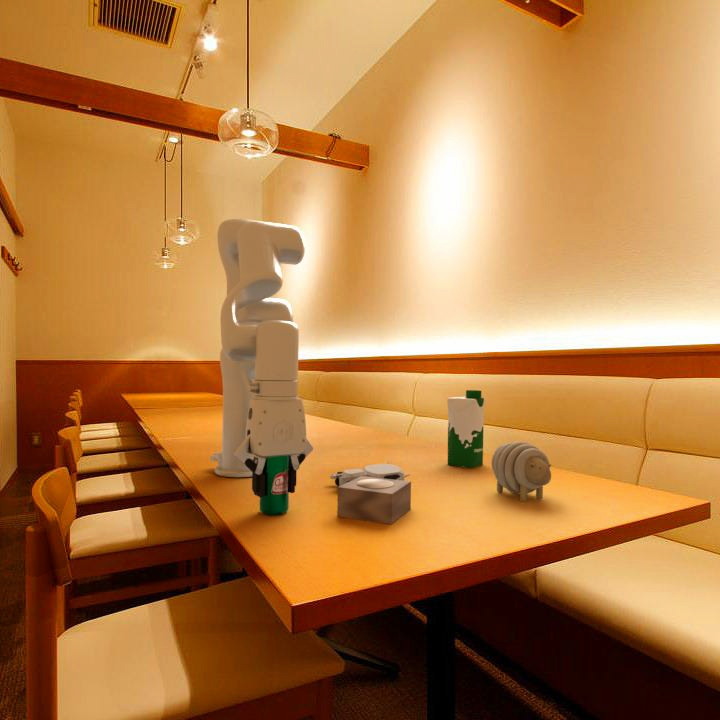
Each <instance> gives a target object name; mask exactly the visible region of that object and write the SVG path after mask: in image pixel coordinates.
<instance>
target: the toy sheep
mask: <svg viewBox="0 0 720 720" xmlns="http://www.w3.org/2000/svg"><path fill="white" fill-rule="evenodd" d="M548 458H549V457H548V456H547V455H546V453H544V452H543V451H542V450H541V449H539V448H538V447H537V446H536V445H533V444H530V443H528V442H525V441H511V442H507V443H503V444H501V445H499V446H498V447H497V448H496V449H495V450H494V452H493V455H492V458H491V468H492V471H493V474H494V476H495V479H496V491H497V493H502V492H503V491H504V489H506V490H507V491H509V492H510V493H513V494H517V495H518V494H519V500H520V501H521V502H522V503H525V502H527V500H528V494H530V493H533V492H535V498H536V500H539V501H542V500H543V499H544V493H543V492H544V486H546V485H548V484H550V482H551V480H552V473H551V467H552V463H550V460H549V459H548Z"/></svg>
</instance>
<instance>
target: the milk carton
mask: <svg viewBox="0 0 720 720" xmlns="http://www.w3.org/2000/svg"><path fill="white" fill-rule="evenodd" d="M446 399H447V401H446V402H447V465H449V466H453V467H461V468H469V469H473V468H474V469H475V468H476V467H479V466H481V465H484V421H485V420H484V418H485V417H484V416H485V414H484V413H485V407H486V406H485V405H486V398H485V397H482V390H473V389H471V390H470V389H466V390H465V396H456V397H447V398H446Z"/></svg>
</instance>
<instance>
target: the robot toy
mask: <svg viewBox="0 0 720 720" xmlns="http://www.w3.org/2000/svg"><path fill="white" fill-rule="evenodd" d="M360 476H366V477H375V478H384V479H393V480H402V481H405V478H407V477H410V476H411V473H407V474H406V475H405V472H404V470H403V469H402V468H401V467H400V466H398V465H396V464H391V463H388V462H386V463H377V464H376V463H375V464H369V465H366V466H364V468H363V469H361V468H355V469H354V468H353V469H352V468H351V469H345V470H344V471H337V474H336V473H333V474H330V475H329V478H330V480H334V484H335V485H336V486H337V487H339V486H341V485H343V484H345V483H347V482H349V481H352V480H354V479H356V478H358V477H360Z"/></svg>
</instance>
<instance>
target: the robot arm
mask: <svg viewBox="0 0 720 720" xmlns="http://www.w3.org/2000/svg"><path fill="white" fill-rule="evenodd" d="M217 247H218V249H217V250H218V253H219V257H220V260H221V263H222V267H223V269H224V273H225V277H226V296H225V299H224V301H223V303H222V305H221V306H222V307H221V309H220V323H219V324H220V337H221V338H220V339H221V340H220V342H221V349H220V353H219V364H220V370H221V378H222V379H221V380H222V430H221V433H222V434H221V435H222V436H221V437H222V438H221V439H222V440H221V452H218V451H215V452H213V454H211V456H210V457H209V459H210V461H211V462H217V466H215V467H214V473H215V474H216V475H218V476H221V477H227V478H247V477H248V478H249V477H252V478H251V490H252V492H253V494H254V496H257V497H258V498H259V499H260V498H262V497H264V496H265V474H263V467H264V464H265V460H266V458H268V457H278V456H289V455H290V457H289V494H294V493H295V492H296V487H297V471H298V470H300V466H301V465H302V463H303V462H304V461H305V460H306V458H307V456H308V455H309V454H311V453H312V452H313V450H314V447H313V445H312V444H311V443H310V441H309V440H308V439H307V425H306V424H307V423H306V413H305V407H304V402H303V398H300V397H299V395H298V392H299V391H298V390H299V389H298V388H299V384H298V383H299V382H298V380H299V342H300V340H299V338H300V337H299V335H300V334H299V327H298V325H297V323H295V322H294V313H293V309H292V307H291V304H290V303H289V301H287V300H285V299H282V298H277V297H276V298H275V297H273V296H275V295H276V294H278V292H279V291H281V289H282V287H283V274H282V267H281V264H283V265H293V266H296V265H299V264H300V263H301V262H302V260H303V258H304V256H305V252H306V251H305V250H306V243H305V238H304V235H303V233H302V231H301V229H300V228H299V227H297V226H295V225H289V224H284V223H283V224H282V223H278V222H269V221H260V220H255V219H254V220H253V219H243V218H230V219H226V220H224V221H222V222H221V223H220V224H219V226H218V229H217Z"/></svg>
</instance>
